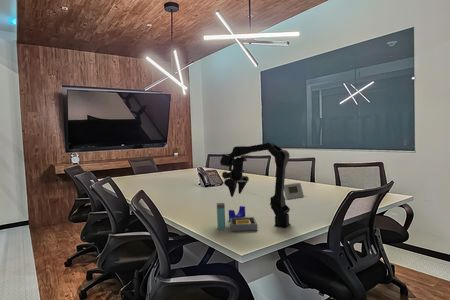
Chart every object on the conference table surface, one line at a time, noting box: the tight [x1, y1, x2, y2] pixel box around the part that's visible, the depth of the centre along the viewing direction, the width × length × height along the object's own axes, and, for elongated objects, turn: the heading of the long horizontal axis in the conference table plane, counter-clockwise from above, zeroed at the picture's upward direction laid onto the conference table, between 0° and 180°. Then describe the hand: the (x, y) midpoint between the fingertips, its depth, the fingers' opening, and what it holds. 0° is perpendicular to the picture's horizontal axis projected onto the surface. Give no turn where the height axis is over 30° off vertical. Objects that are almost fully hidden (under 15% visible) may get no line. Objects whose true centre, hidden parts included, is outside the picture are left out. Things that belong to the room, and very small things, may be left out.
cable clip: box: [228, 205, 246, 221], centre depth 174 cm, size 12×4×6 cm, turn 141°
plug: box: [216, 202, 226, 231], centre depth 156 cm, size 4×4×13 cm
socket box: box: [229, 216, 258, 233], centre depth 156 cm, size 13×13×4 cm
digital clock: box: [284, 182, 305, 200], centre depth 223 cm, size 16×9×11 cm, turn 105°
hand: (235, 195), depth 170 cm, fingers open, 9 cm apart
